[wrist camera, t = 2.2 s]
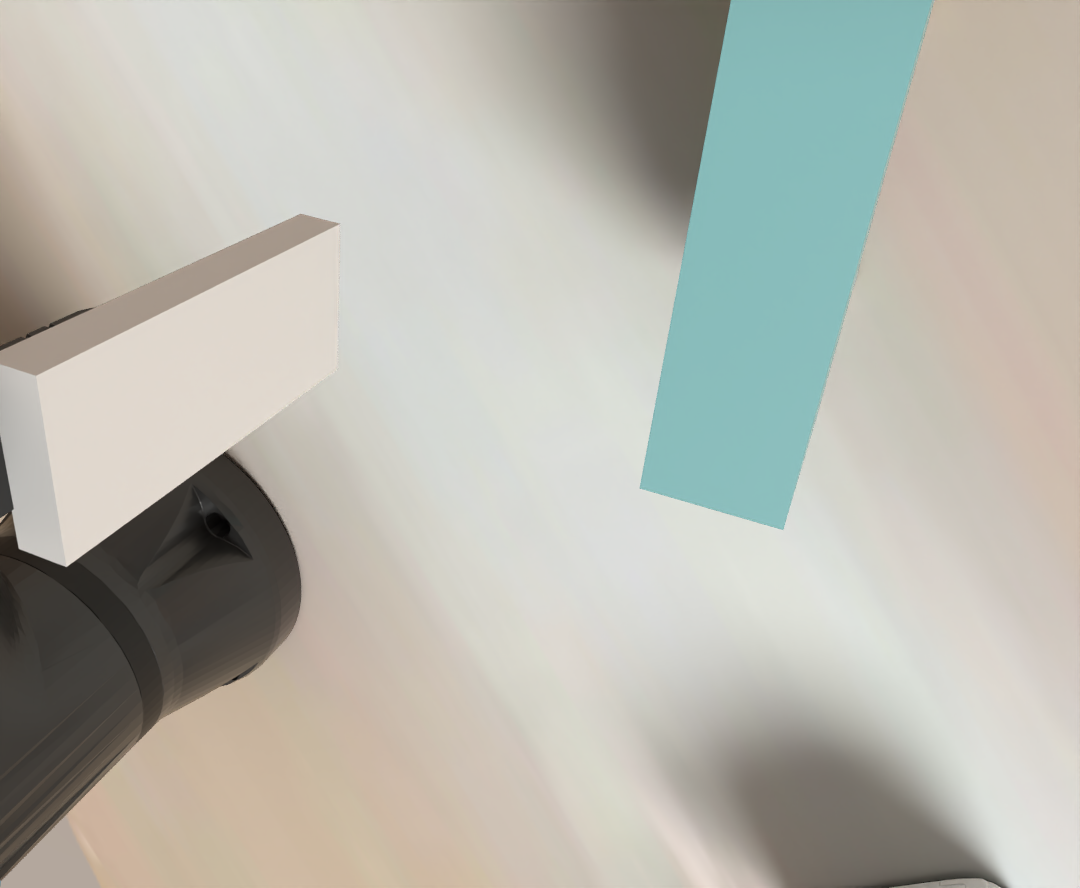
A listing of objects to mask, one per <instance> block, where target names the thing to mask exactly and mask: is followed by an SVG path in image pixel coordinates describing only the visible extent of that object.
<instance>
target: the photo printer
mask: <svg viewBox="0 0 1080 888" xmlns="http://www.w3.org/2000/svg"><path fill="white" fill-rule="evenodd" d="M891 888H1001V887H999V886H998V885H996V884H994V883H992V882H987V881H986V880H984V879H978V878H966V879H951V880H942V881H935V882H927V883H920V884H913V885H905V886H898V887H891Z"/></svg>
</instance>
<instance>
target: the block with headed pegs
mask: <svg viewBox="0 0 1080 888" xmlns="http://www.w3.org/2000/svg"><path fill="white" fill-rule="evenodd" d="M934 1H935V0H731V3H730V8H729V14H728V19H727V24H726V30H725V35H724V40H723V46H722V51H721V56H720V62H719V67H718V72H717V78H716V83H715V88H714V94H713V99H712V104H711V110H710V115H709V120H708V126H707V131H706V137H705V142H704V147H703V153H702V158H701V163H700V169H699V174H698V179H697V185H696V190H695V195H694V201H693V206H692V211H691V217H690V222H689V227H688V233H687V238H686V243H685V249H684V254H683V259H682V265H681V270H680V275H679V281H678V286H677V291H676V297H675V302H674V308H673V313H672V318H671V324H670V329H669V334H668V340H667V345H666V350H665V356H664V361H663V366H662V372H661V377H660V382H659V388H658V393H657V398H656V404H655V409H654V414H653V420H652V425H651V430H650V436H649V441H648V446H647V452H646V457H645V462H644V468H643V473H642V479H641V484H640V489H644V490H647V491H651V492H654V493H658V494H661V495H664V496H668V497H671V498H675V499H678V500H682V501H685V502H689V503H692V504H695V505H699V506H702V507H706V508H709V509H713V510H716V511H720V512H723V513H726V514H730V515H733V516H737V517H740V518H744V519H747V520H751V521H754V522H757V523H761V524H764V525H768V526H771V527H775V528H778V529H782V530H783V529H784V525H785V522H786V519H787V515H788V512H789V508H790V505H791V502H792V498H793V495H794V492H795V488H796V485H797V481H798V478H799V475H800V471H801V468H802V465H803V461H804V458H805V454H806V451H807V448H808V444H809V441H810V438H811V434H812V431H813V428H814V424H815V421H816V417H817V414H818V410H819V407H820V403H821V400H822V396H823V393H824V389H825V386H826V382H827V378H828V375H829V371H830V368H831V364H832V361H833V357H834V354H835V350H836V347H837V343H838V340H839V336H840V332H841V329H842V325H843V322H844V318H845V315H846V311H847V308H848V304H849V301H850V297H851V294H852V290H853V287H854V285H855V282H856V278H857V275H858V271H859V266H860V262H861V258H862V255H863V251H864V248H865V244H866V240H867V237H868V233H869V230H870V226H871V223H872V219H873V216H874V212H875V209H876V205H877V202H878V198H879V194H880V191H881V187H882V184H883V180H884V177H885V173H886V170H887V166H888V163H889V159H890V156H891V152H892V148H893V145H894V141H895V138H896V134H897V131H898V127H899V124H900V120H901V117H902V113H903V110H904V106H905V102H906V99H907V95H908V92H909V88H910V85H911V81H912V78H913V74H914V71H915V67H916V64H917V60H918V56H919V53H920V49H921V46H922V42H923V39H924V35H925V32H926V28H927V25H928V21H929V18H930V14H931V10H932V7H933V3H934Z"/></svg>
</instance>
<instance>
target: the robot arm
mask: <svg viewBox="0 0 1080 888" xmlns="http://www.w3.org/2000/svg"><path fill="white" fill-rule="evenodd" d="M339 263H340V224H339V223H335V222H331V221H327V220H323V219H319V218H315V217H311V216H307V215H303V214H299V215H297V216H295V217H293V218H291V219H288V220H286V221H284V222H282V223H280V224H277V225H275V226H273V227H271V228H269V229H267V230H264V231H262V232H260V233H258V234H256V235H253V236H251V237H249V238H247V239H245V240H242V241H240V242H238V243H236V244H234V245H231V246H229V247H227V248H225V249H223V250H220V251H218V252H216V253H214V254H212V255H209V256H207V257H205V258H203V259H201V260H198V261H196V262H194V263H192V264H190V265H188V266H185V267H183V268H181V269H179V270H177V271H174V272H172V273H170V274H168V275H166V276H163V277H161V278H159V279H157V280H155V281H152V282H150V283H148V284H146V285H144V286H141V287H139V288H137V289H135V290H133V291H130V292H128V293H126V294H124V295H122V296H119V297H117V298H115V299H113V300H111V301H109V302H106V303H104V304H102V305H100V306H98V307H94V308H90V309H85V310H81V311H77V312H75V313H73V314H71V315H68V316H66V317H64V318H62V319H60V320H57V321H55V322H53V323H51V324H50V326H49V328H48V327H42V328H40V329H37V330H35V331H33V332H31V333H29V334H27V336H26V338H22V337H20V338H17V339H15V340H13V341H11V342H9V343H6V344H4V345H2V346H0V518H1V517H2V516H4V515H6V514H7V513H8V514H7V515H6V516H5V518H4V519H3V520H2V521H1V523H0V884H1V880H2V879H3V878H4V877H5V876H6V875H7V874H8V873H9V872H10V871H11V870H12V869H13V868H14V867H15V866H16V865H17V864H18V863H19V862H20V861H21V860H22V859H23V858H24V857H25V856H26V855H27V854H28V853H29V852H30V851H31V850H32V849H33V848H34V847H35V846H36V845H37V843H39V842H40V841H41V840H42V839H43V838H44V837H45V836H46V835H47V834H48V832H50V831H51V830H52V828H53V827H54V826H55V825H56V824H57V823H58V822H59V821H60V820H61V819H62V818H63V817H64V816H65V815H66V814H67V813H68V812H69V811H70V810H71V809H72V808H73V807H74V806H75V805H76V804H77V803H78V802H79V801H80V800H81V799H82V798H83V797H84V796H85V795H86V794H87V793H88V792H89V791H90V790H91V789H92V788H93V787H94V786H95V785H96V784H97V783H98V782H99V781H100V780H101V779H102V778H103V777H104V776H105V775H106V774H107V772H108V771H109V770H110V769H111V768H112V767H113V766H114V765H115V764H116V763H117V762H118V761H119V760H120V759H121V758H122V757H123V756H124V755H125V754H126V753H127V752H128V751H129V750H130V749H131V748H132V747H133V746H134V745H135V744H136V743H137V742H138V741H139V740H140V739H141V738H142V737H143V736H144V735H145V734H146V733H147V732H148V731H149V730H150V729H151V728H152V727H153V726H154V725H155V724H156V723H157V722H158V721H159V720H160V719H162V718H163V717H165V716H167V715H169V714H171V713H173V712H174V711H176V710H178V709H180V708H182V707H184V706H186V705H187V704H189V703H191V702H193V701H195V700H197V699H199V698H200V697H202V696H204V695H206V694H208V693H209V692H211V691H213V690H215V689H216V688H218V687H220V686H224V685H228V684H230V683H233V682H235V681H237V680H240V679H242V678H244V677H246V676H247V675H249V674H250V673H252V672H253V671H254V670H256V669H257V668H258V667H259V666H261V665H262V664H263V663H264V662H265V661H266V660H267V659H268V657H269V656H270V655H271V654H272V653H273V652H274V651H275V650H276V649H277V648H278V647H279V646H280V645H281V644H282V643H283V641H284V640H285V639H286V638H287V637H288V635H289V634H290V632H291V631H292V629H293V627H294V625H295V622H296V620H297V617H298V614H299V609H300V602H301V580H300V573H299V568H298V563H297V560H296V556H295V553H294V550H293V547H292V544H291V542H290V540H289V537H288V535H287V533H286V531H285V529H284V527H283V525H282V523H281V521H280V519H279V518H278V516H277V514H276V513H275V511H274V510H273V508H272V506H271V505H270V504H269V502H268V501H267V499H266V498H265V497H264V495H263V494H262V493H261V492H260V490H259V489H258V488H257V487H256V486H255V484H254V483H253V482H252V481H251V480H250V479H249V478H248V477H247V476H246V475H245V474H244V473H243V472H242V471H241V470H240V469H239V468H238V467H237V466H236V465H235V464H234V463H232V462H231V461H230V460H229V459H228V458H226V457H225V456H224V455H223V454H222V453H224V452H225V451H226V450H228V449H229V448H231V447H232V446H233V445H235V444H236V443H237V442H239V441H240V440H242V439H243V438H244V437H246V436H247V435H248V434H250V433H251V432H253V431H254V430H255V429H257V428H258V427H259V426H261V425H262V424H264V423H265V422H266V421H268V420H269V419H270V418H272V417H273V416H275V415H276V414H277V413H279V412H280V411H281V410H283V409H284V408H286V407H287V406H288V405H290V404H291V403H292V402H294V401H295V400H296V399H298V398H299V397H301V396H302V395H303V394H305V393H306V392H307V391H309V390H310V389H312V388H313V387H314V386H316V385H317V384H318V383H320V382H321V381H323V380H324V379H325V378H327V377H328V376H329V375H331V374H332V373H334V372H335V371H336V370H338V328H339Z"/></svg>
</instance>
